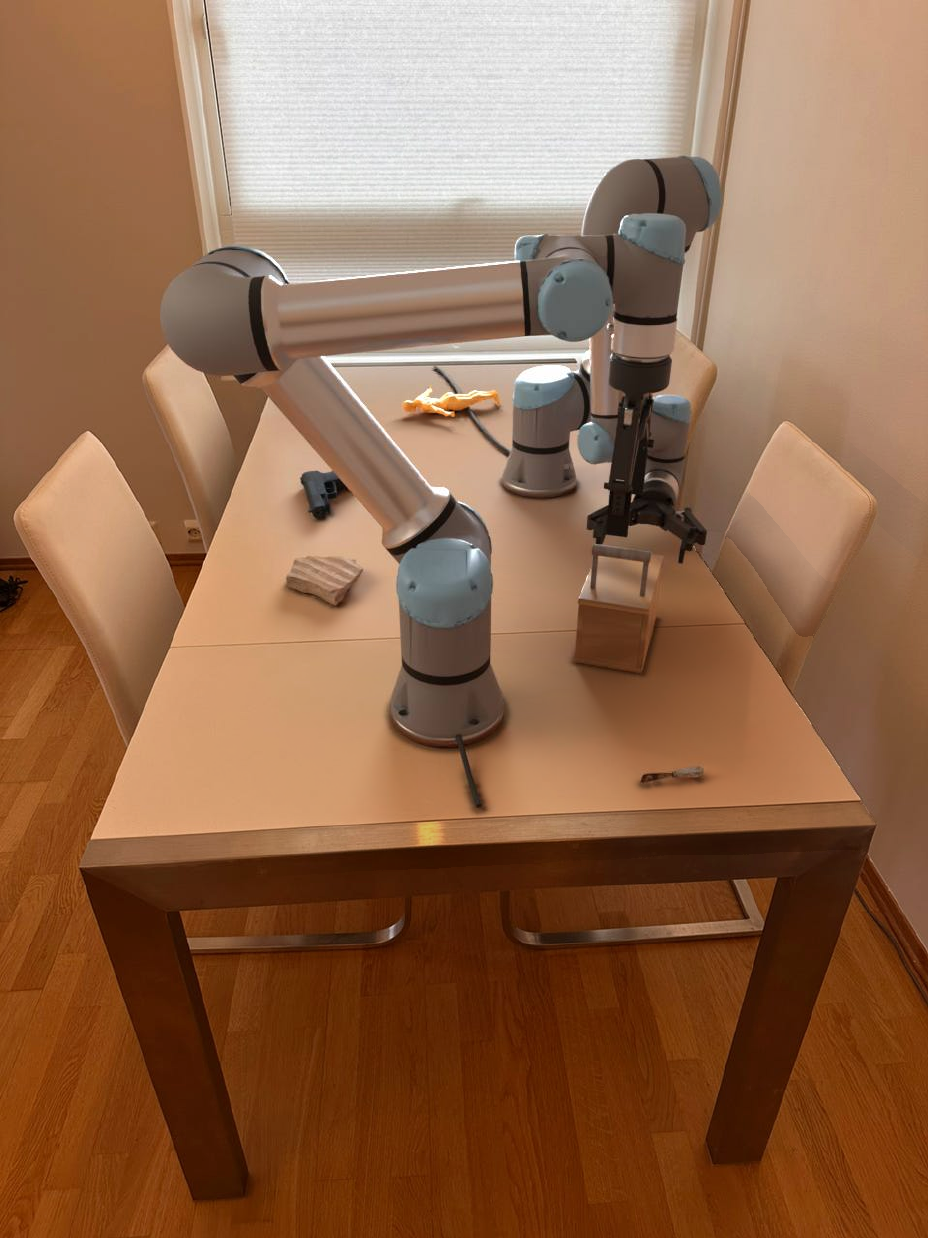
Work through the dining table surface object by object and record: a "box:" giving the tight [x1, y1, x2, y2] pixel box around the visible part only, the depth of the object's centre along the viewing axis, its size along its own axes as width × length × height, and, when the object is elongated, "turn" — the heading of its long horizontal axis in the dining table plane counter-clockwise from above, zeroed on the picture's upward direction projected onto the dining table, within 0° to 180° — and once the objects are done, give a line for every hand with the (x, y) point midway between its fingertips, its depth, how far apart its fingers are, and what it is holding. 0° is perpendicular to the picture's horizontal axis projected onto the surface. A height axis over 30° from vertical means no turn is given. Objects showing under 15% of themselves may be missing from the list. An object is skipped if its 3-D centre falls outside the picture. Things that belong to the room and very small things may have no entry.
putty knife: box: [640, 765, 705, 784], centre depth 109 cm, size 1×8×2 cm, turn 103°
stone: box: [284, 555, 364, 606], centre depth 150 cm, size 13×12×2 cm
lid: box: [577, 543, 665, 615], centre depth 128 cm, size 16×10×8 cm, turn 162°
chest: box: [574, 562, 664, 674], centre depth 133 cm, size 16×10×10 cm, turn 162°
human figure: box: [402, 385, 500, 418], centre depth 225 cm, size 20×20×4 cm
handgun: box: [299, 470, 349, 520], centre depth 179 cm, size 3×18×12 cm
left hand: (625, 513), depth 120 cm, fingers open, 13 cm apart
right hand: (638, 550), depth 146 cm, fingers open, 13 cm apart
